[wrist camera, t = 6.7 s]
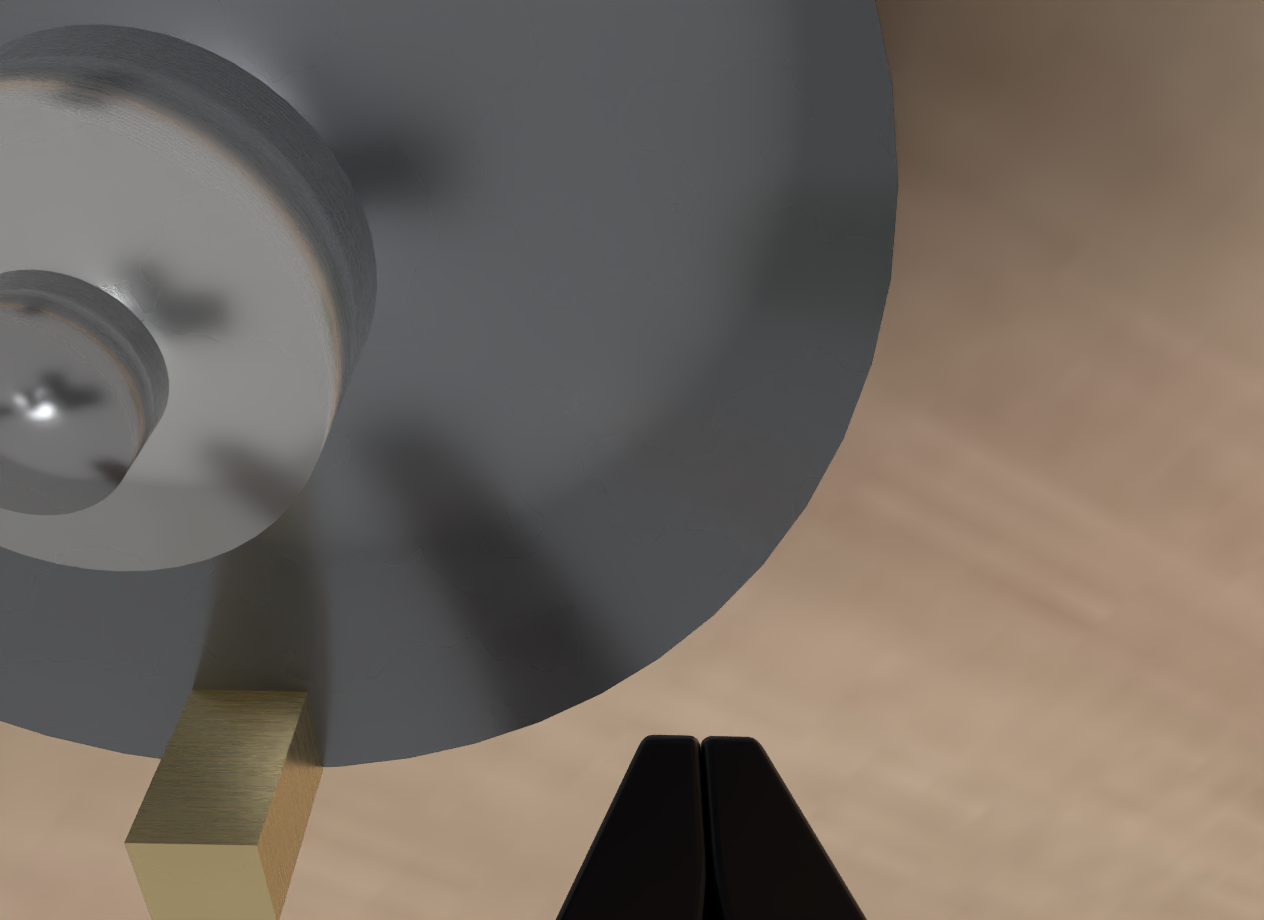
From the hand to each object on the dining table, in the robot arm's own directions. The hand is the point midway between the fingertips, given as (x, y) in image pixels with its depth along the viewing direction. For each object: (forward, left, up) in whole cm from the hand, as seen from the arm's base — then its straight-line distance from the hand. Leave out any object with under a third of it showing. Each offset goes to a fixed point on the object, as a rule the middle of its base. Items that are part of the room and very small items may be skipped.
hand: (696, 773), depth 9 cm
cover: (-7, 0, -9) cm, 11 cm away
